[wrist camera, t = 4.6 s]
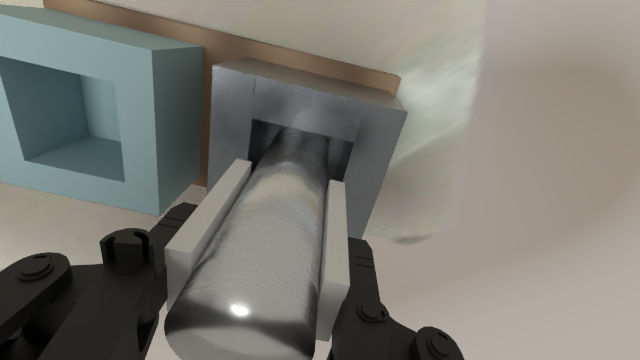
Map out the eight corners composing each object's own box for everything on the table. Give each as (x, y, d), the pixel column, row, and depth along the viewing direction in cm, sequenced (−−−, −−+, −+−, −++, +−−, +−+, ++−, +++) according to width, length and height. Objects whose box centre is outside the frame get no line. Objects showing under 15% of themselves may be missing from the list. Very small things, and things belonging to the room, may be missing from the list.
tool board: (87, 151, 25) (73, 157, 24) (60, -8, 20) (40, -11, 18) (352, 210, 26) (353, 219, 25) (397, 75, 21) (401, 78, 19)
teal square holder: (77, 148, 23) (0, 182, 18) (51, 9, 19) (-63, -2, 13) (199, 175, 24) (159, 216, 18) (203, 46, 19) (151, 50, 14)
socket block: (235, 183, 24) (205, 225, 19) (247, 56, 19) (212, 65, 14) (350, 209, 24) (354, 257, 19) (389, 91, 20) (407, 112, 15)
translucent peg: (268, 169, 21) (166, 370, 8) (276, 116, 19) (161, 274, 7) (321, 181, 21) (299, 395, 9) (334, 130, 19) (330, 307, 7)
